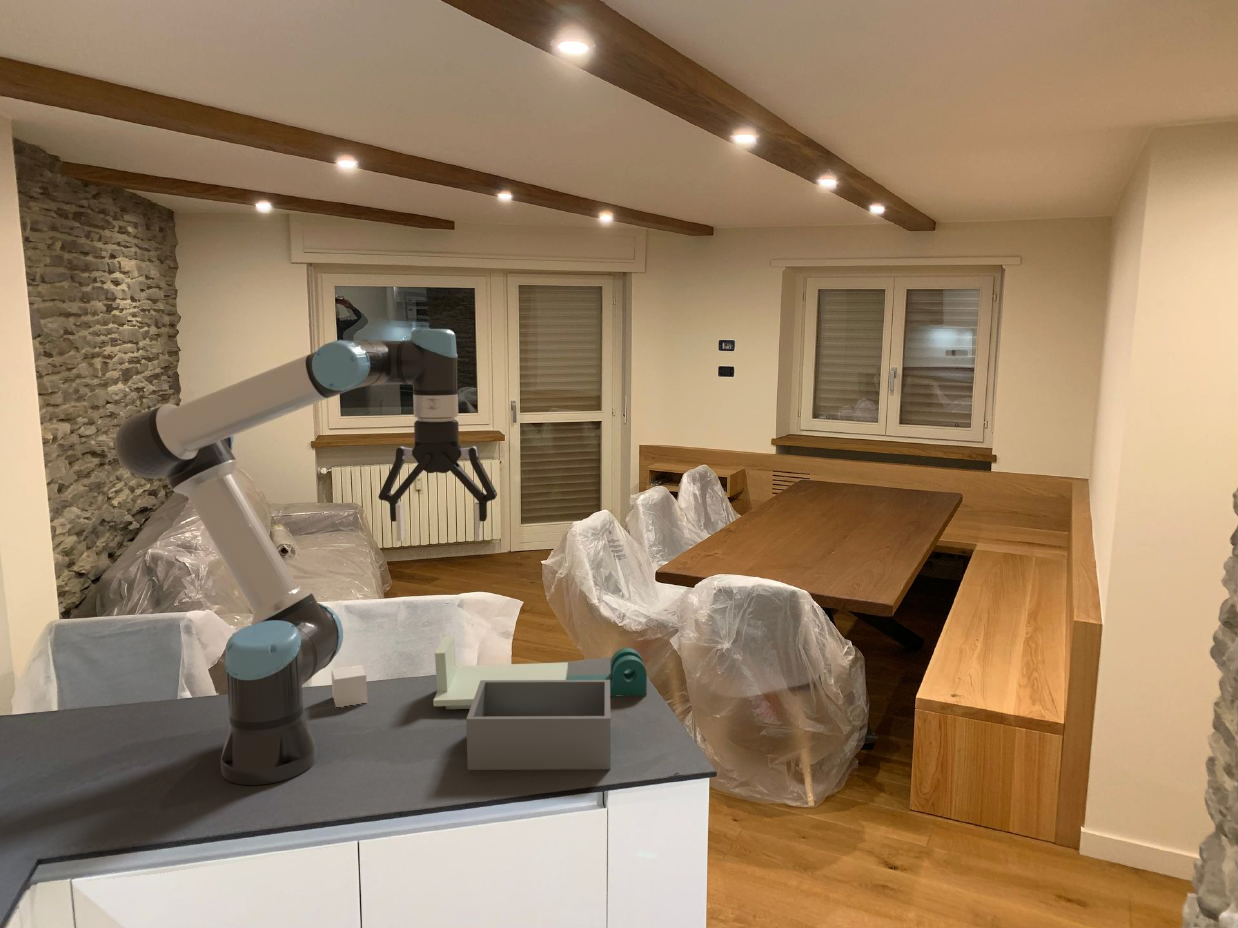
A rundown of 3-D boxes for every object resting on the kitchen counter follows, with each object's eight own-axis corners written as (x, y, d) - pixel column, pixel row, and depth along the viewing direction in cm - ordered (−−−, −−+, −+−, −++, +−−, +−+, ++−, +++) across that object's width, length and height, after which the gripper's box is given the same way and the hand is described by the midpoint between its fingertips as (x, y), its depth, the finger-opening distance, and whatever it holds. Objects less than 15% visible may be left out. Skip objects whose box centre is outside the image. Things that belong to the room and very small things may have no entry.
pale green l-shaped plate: (434, 713, 173) (430, 660, 172) (451, 678, 191) (448, 629, 190) (563, 709, 173) (561, 656, 172) (568, 674, 191) (566, 626, 190)
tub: (467, 769, 151) (466, 719, 149) (481, 726, 168) (480, 680, 166) (610, 769, 151) (610, 718, 150) (610, 725, 168) (610, 679, 167)
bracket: (642, 683, 189) (642, 647, 188) (646, 695, 182) (646, 658, 181) (556, 686, 187) (556, 650, 186) (557, 699, 181) (557, 661, 179)
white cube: (336, 708, 176) (334, 679, 175) (332, 697, 181) (331, 669, 180) (367, 703, 178) (366, 674, 177) (363, 692, 184) (361, 664, 183)
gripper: (357, 421, 151) (362, 544, 154) (506, 421, 151) (508, 544, 154) (369, 417, 158) (373, 534, 161) (510, 417, 159) (512, 534, 162)
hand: (439, 539), depth 158 cm, fingers open, 13 cm apart
